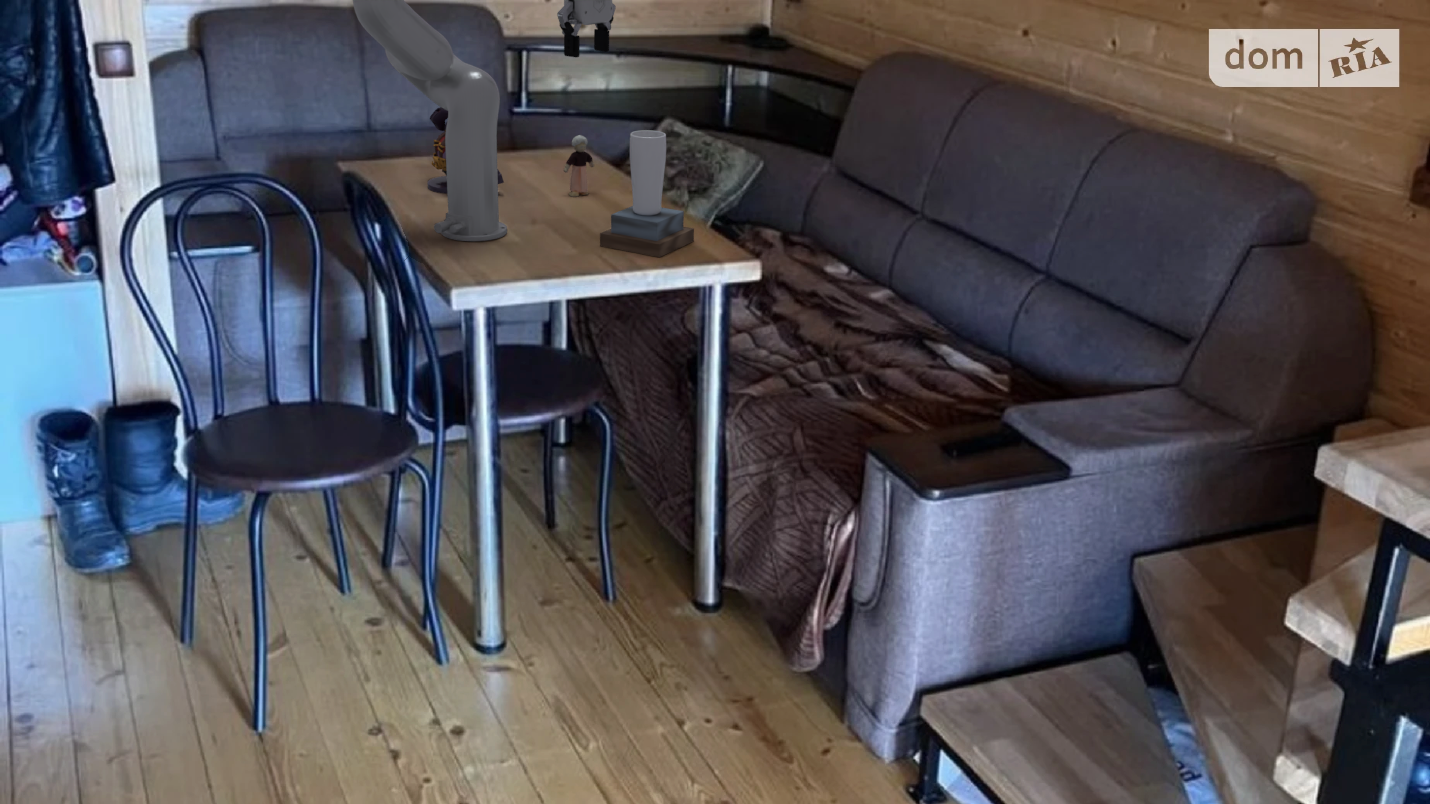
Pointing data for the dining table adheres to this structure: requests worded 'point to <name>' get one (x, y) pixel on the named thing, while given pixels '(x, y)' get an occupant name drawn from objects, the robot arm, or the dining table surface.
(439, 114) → the figurine
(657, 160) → the drinking glass
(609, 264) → the dining table surface
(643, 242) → the stone block on base
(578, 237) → the dining table surface
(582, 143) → the grandmother figurine
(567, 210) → the dining table surface
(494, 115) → the robot arm
